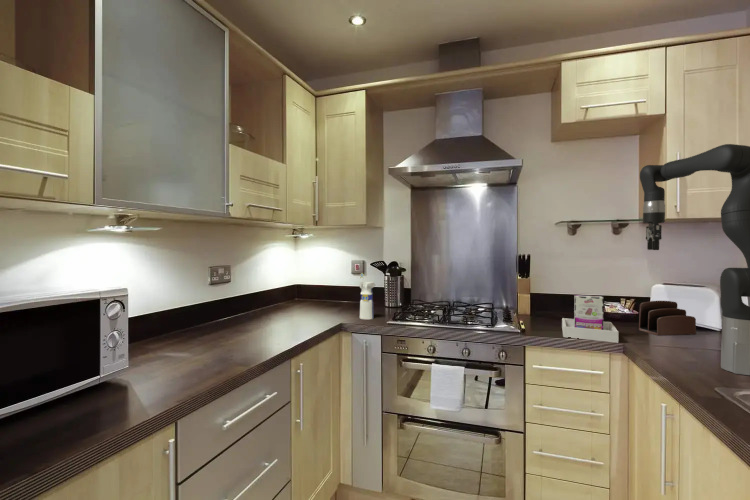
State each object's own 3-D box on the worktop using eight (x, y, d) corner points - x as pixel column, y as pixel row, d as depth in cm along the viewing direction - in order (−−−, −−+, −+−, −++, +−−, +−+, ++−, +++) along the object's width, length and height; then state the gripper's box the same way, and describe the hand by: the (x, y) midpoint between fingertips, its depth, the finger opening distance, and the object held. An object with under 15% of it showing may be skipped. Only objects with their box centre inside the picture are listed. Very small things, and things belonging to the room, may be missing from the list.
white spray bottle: (372, 320, 189) (373, 272, 189) (357, 319, 191) (357, 272, 191) (376, 316, 197) (376, 271, 197) (361, 316, 199) (361, 270, 199)
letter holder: (638, 330, 170) (638, 300, 170) (675, 329, 173) (675, 299, 172) (657, 336, 160) (658, 304, 160) (696, 334, 163) (697, 303, 162)
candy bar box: (602, 332, 161) (602, 296, 161) (603, 335, 157) (604, 297, 157) (573, 329, 166) (574, 294, 166) (574, 332, 162) (574, 295, 161)
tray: (618, 342, 148) (618, 331, 148) (563, 337, 157) (563, 326, 157) (610, 331, 166) (611, 322, 166) (562, 327, 175) (562, 318, 175)
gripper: (669, 210, 146) (668, 250, 147) (660, 213, 159) (659, 249, 159) (647, 211, 150) (646, 250, 150) (639, 213, 162) (638, 249, 163)
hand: (653, 249), depth 155 cm, fingers open, 8 cm apart
